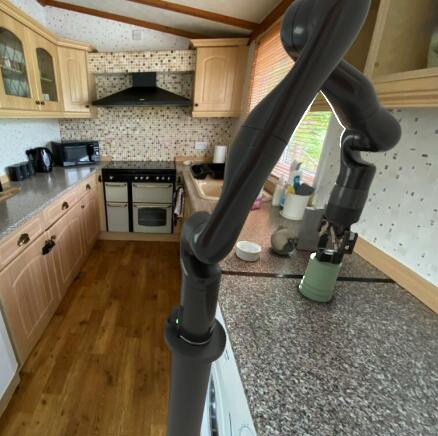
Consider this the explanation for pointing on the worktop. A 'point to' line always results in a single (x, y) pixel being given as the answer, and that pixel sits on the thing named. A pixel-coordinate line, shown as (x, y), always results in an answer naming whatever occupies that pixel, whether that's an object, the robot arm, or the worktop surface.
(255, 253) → the ramekin
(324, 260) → the binder clip
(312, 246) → the hip flask
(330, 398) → the worktop surface
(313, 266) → the cup stack
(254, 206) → the candy bar box
